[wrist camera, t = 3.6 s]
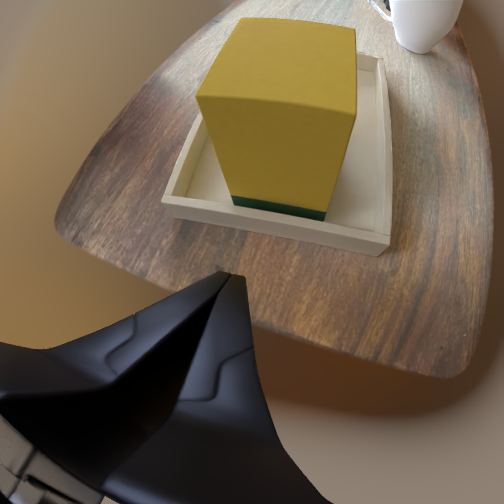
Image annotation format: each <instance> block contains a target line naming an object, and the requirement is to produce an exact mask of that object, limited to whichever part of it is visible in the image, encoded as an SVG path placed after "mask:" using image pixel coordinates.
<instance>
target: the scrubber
mask: <svg viewBox="0 0 504 504" xmlns="http://www.w3.org/2000/svg"><path fill="white" fill-rule="evenodd" d="M195 97H196V100H197V103H198V106H199V109H200V111H201V114H202V117H203V120H204V123H205V125H206V128H207V131H208V134H209V137H210V139H211V142H212V145H213V148H214V151H215V153H216V156H217V159H218V162H219V165H220V167H221V170H222V173H223V176H224V179H225V181H226V184H227V187H228V190H229V193H230V195H231V198H232V201H233V204H234V205H235V206H241V207H247V208H253V209H258V210H264V211H269V212H275V213H280V214H286V215H291V216H296V217H301V218H307V219H312V220H317V221H322V222H323V221H324V219H325V216H326V213H327V210H328V207H329V204H330V201H331V198H332V195H333V192H334V189H335V186H336V183H337V179H338V176H339V173H340V170H341V167H342V163H343V160H344V157H345V154H346V150H347V147H348V144H349V140H350V137H351V133H352V130H353V126H354V123H355V119H356V116H357V55H356V33H355V29H352V28H348V27H342V26H337V25H331V24H324V23H318V22H310V21H301V20H291V19H277V18H248V17H243V18H241V19H240V20H239V22H238V23H237V25H236V27H235V28H234V30H233V31H232V33H231V34H230V36H229V37H228V39H227V41H226V42H225V44H224V45H223V47H222V49H221V50H220V52H219V54H218V55H217V57H216V59H215V60H214V62H213V64H212V66H211V67H210V69H209V71H208V73H207V74H206V76H205V78H204V80H203V82H202V84H201V85H200V87H199V89H198V91H197V93H196V95H195Z"/></svg>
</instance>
